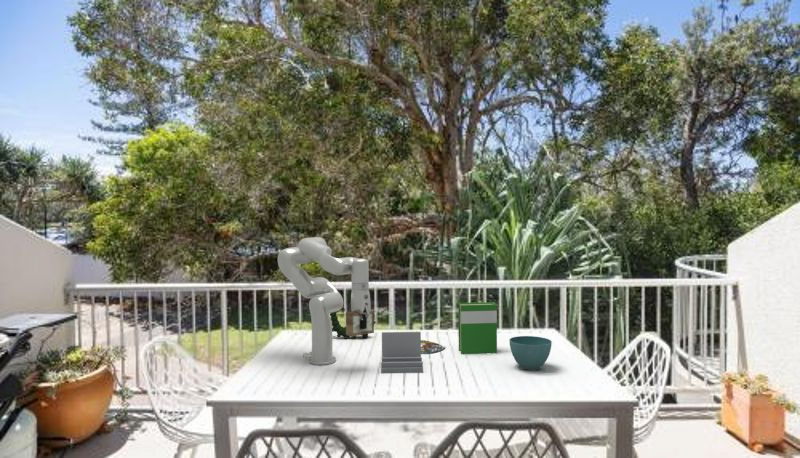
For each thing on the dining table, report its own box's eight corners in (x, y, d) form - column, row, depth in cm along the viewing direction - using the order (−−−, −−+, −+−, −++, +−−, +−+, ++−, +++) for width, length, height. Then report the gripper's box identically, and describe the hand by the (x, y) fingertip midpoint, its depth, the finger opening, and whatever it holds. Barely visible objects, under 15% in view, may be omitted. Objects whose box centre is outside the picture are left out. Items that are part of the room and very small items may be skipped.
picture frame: (351, 336, 239) (350, 313, 238) (346, 334, 242) (346, 312, 242) (374, 333, 246) (374, 310, 245) (369, 331, 249) (369, 309, 249)
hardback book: (461, 354, 269) (461, 305, 268) (458, 350, 276) (458, 302, 275) (497, 353, 270) (496, 304, 269) (493, 349, 277) (493, 302, 277)
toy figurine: (332, 343, 301) (377, 338, 302) (328, 309, 301) (373, 304, 301) (333, 339, 311) (377, 334, 311) (330, 306, 310) (374, 301, 311)
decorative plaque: (393, 336, 301) (448, 337, 295) (393, 341, 301) (448, 342, 295) (381, 350, 272) (441, 352, 266) (381, 356, 272) (441, 357, 266)
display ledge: (381, 373, 238) (381, 340, 238) (382, 362, 256) (381, 332, 256) (422, 372, 239) (422, 340, 238) (420, 361, 256) (420, 331, 256)
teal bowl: (524, 360, 257) (524, 333, 257) (559, 367, 244) (559, 340, 244) (501, 367, 244) (501, 340, 244) (537, 376, 231) (537, 347, 231)
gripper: (377, 288, 239) (377, 330, 239) (357, 283, 252) (357, 323, 253) (362, 289, 234) (363, 332, 235) (343, 285, 248) (343, 325, 249)
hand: (360, 327), depth 244 cm, fingers closed on picture frame, 4 cm apart
